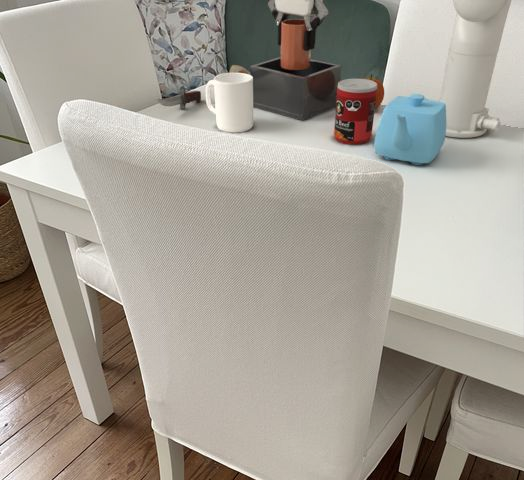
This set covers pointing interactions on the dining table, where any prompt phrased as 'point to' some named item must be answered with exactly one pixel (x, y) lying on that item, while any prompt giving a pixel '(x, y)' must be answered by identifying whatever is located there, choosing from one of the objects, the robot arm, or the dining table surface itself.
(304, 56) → the terracotta cup
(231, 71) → the mug
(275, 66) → the dark grey open box
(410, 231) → the dining table surface
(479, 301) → the dining table surface
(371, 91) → the canned food
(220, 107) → the cup
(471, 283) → the dining table surface
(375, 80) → the fruit
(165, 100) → the knife
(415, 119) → the teapot
